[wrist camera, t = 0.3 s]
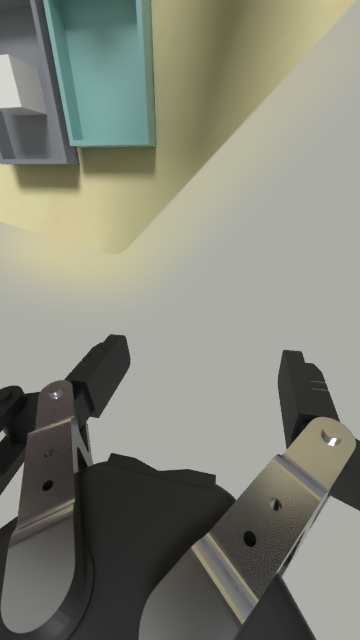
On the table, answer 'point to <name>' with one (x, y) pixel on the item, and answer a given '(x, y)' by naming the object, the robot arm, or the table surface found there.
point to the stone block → (20, 88)
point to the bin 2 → (104, 70)
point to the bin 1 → (36, 50)
